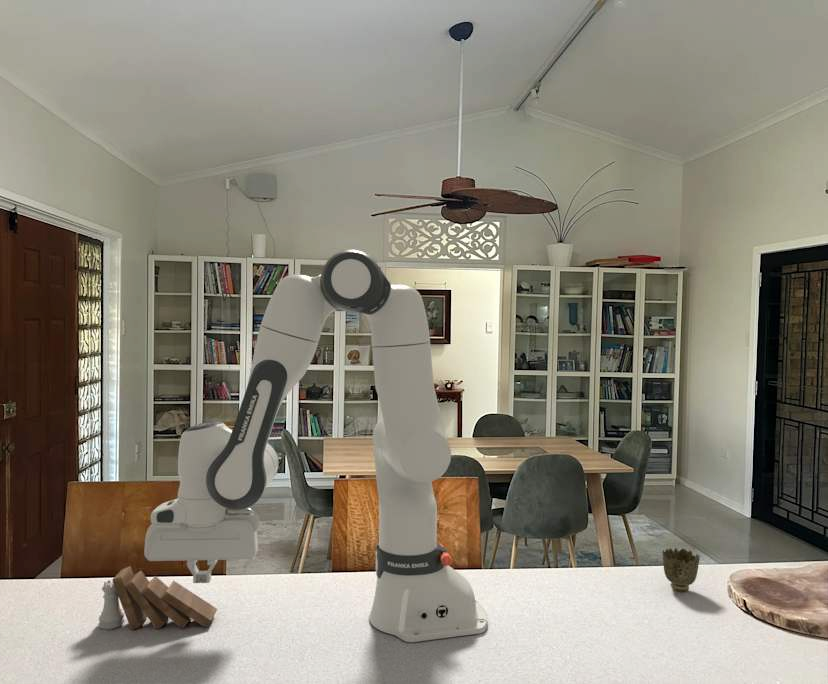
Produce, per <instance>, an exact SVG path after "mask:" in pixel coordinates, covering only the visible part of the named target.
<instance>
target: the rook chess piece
mask: <svg viewBox="0 0 828 684" xmlns="http://www.w3.org/2000/svg"><path fill="white" fill-rule="evenodd" d="M103 583H104V584H103V586H102V587H101V590H102V591H103V593H104V594H103V596H102V598H103V599H104V600H103V602H104V603H103V609H102V611H101V614H100V615H99V617H98V623H97V626H98V627H99V628H100V629H101V630H106V631H108V630H109V631H110V630H114V629H117V628H120V627H121V626H122V625H123V624H124V623H125V612H124V611H122V610H123V608H121V607H120V599H119V596H118V594H117V591H116V588H115V586H114V583H113V581H111V579H108V580H107V581H104V582H103Z"/></svg>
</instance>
